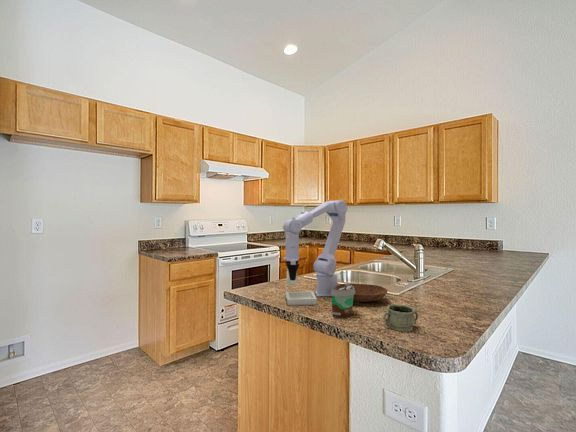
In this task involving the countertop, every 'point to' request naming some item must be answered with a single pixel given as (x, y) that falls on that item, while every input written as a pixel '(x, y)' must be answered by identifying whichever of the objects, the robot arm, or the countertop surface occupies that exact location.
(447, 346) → the countertop surface
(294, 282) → the shaker
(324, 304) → the countertop surface
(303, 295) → the tray
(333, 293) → the food container
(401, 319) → the vessel
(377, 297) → the bowl
